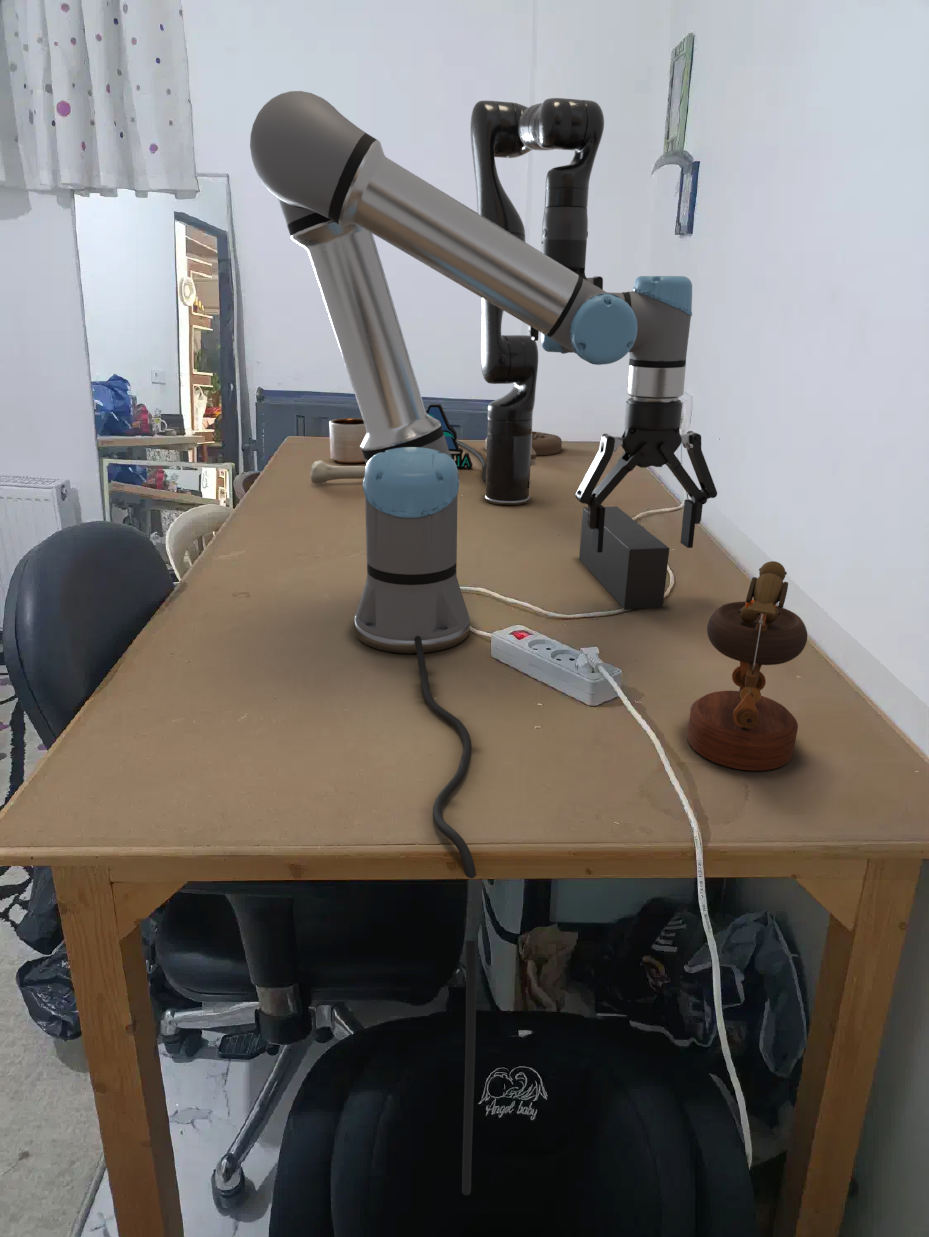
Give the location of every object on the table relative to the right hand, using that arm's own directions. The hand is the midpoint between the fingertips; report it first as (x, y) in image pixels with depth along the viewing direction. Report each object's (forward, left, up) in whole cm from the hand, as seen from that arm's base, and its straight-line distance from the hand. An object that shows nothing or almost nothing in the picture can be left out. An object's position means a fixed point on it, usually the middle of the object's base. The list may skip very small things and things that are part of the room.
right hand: (558, 340), depth 147 cm
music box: (+78, -12, -34) cm, 86 cm away
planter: (-70, -24, -34) cm, 81 cm away
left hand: (+38, -2, -26) cm, 46 cm away
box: (+30, -1, -34) cm, 45 cm away
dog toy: (-45, -28, -34) cm, 63 cm away
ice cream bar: (-67, +22, -34) cm, 78 cm away
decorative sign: (-57, -6, -34) cm, 67 cm away
